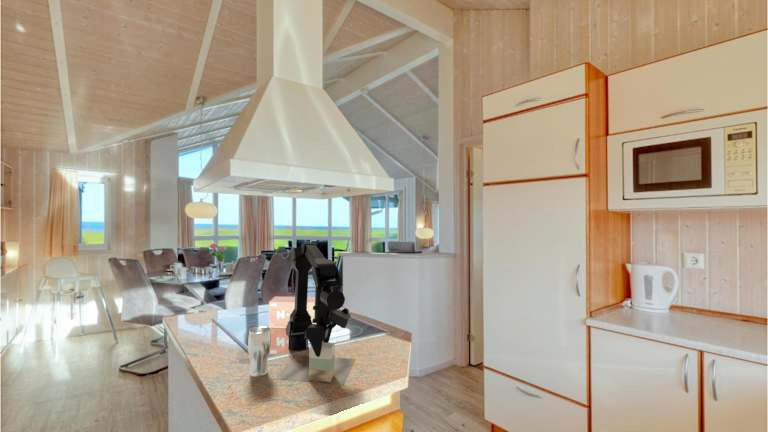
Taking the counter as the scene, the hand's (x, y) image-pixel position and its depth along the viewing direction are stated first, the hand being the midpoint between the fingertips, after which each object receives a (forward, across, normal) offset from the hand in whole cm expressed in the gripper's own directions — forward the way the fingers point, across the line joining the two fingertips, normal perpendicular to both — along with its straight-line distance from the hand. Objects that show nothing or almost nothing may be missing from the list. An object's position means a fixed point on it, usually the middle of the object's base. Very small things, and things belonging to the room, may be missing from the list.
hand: (322, 350), depth 113 cm
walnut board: (+10, +6, +3) cm, 12 cm away
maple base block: (+9, 0, 0) cm, 9 cm away
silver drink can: (+10, 0, +21) cm, 23 cm away
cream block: (+2, 0, 0) cm, 2 cm away
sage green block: (+5, 0, 0) cm, 5 cm away
